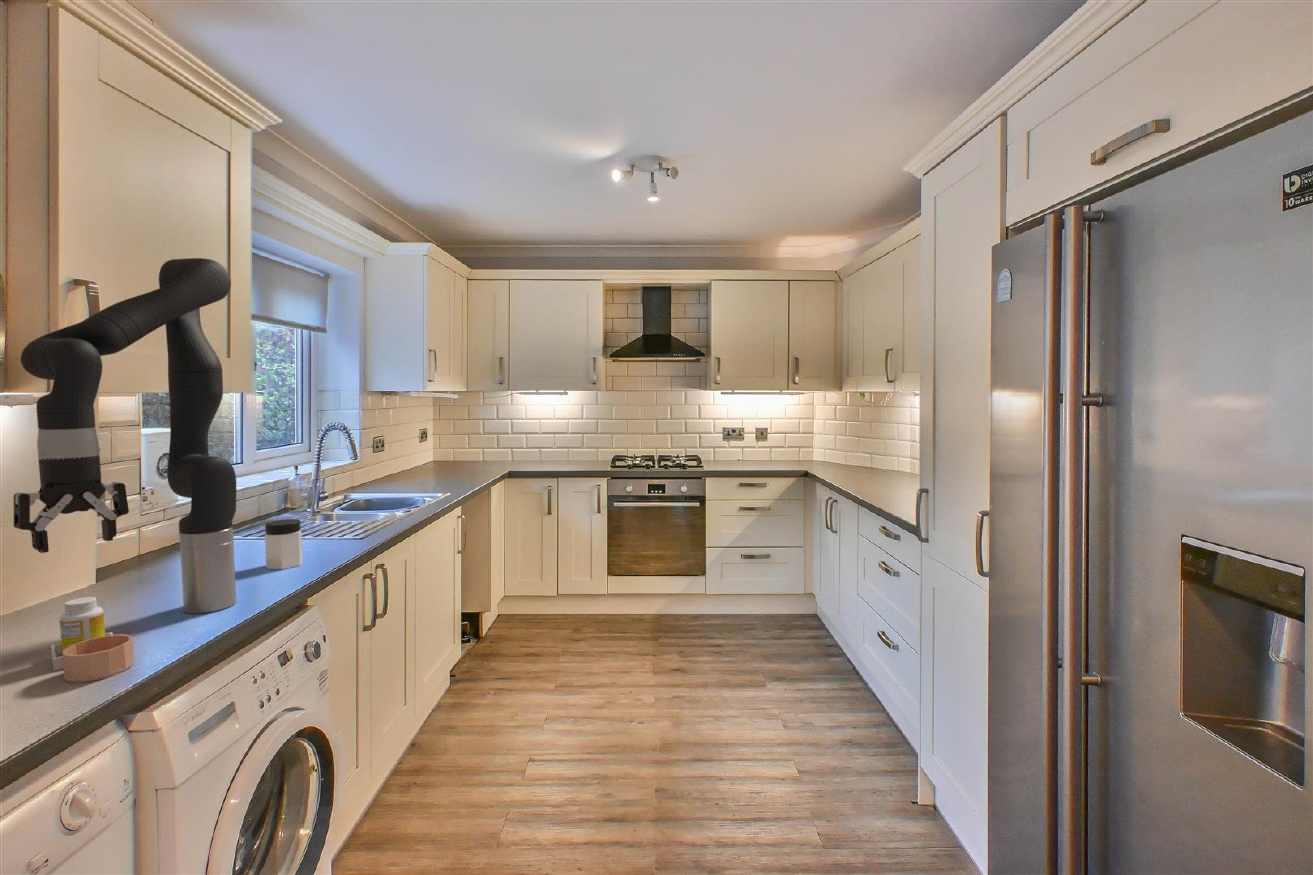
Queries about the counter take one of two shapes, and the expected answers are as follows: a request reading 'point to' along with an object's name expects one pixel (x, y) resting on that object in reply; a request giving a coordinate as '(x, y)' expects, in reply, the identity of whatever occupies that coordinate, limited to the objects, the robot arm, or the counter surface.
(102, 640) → the terracotta bowl
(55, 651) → the tray
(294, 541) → the jar
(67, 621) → the supplement bottle
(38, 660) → the counter surface
